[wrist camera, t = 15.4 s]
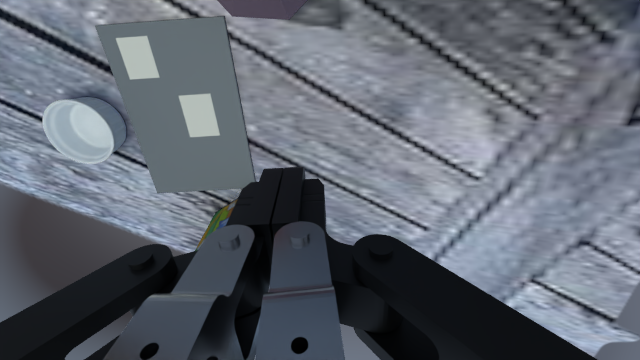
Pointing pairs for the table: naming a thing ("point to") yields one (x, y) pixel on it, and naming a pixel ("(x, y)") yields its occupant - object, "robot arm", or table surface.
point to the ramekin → (84, 129)
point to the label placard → (182, 101)
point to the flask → (262, 8)
